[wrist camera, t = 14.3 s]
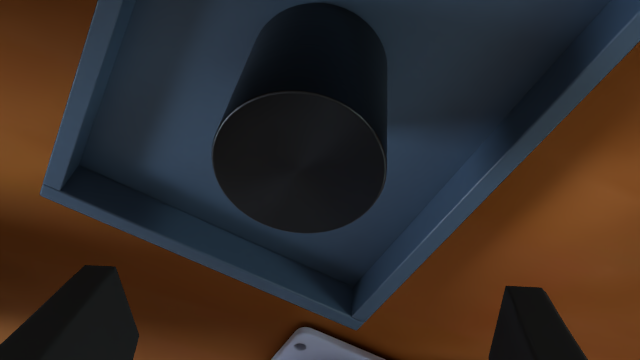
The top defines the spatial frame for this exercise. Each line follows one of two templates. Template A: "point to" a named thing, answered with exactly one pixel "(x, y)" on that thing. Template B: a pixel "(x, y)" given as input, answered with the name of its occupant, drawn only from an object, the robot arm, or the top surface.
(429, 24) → the tray
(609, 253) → the top surface
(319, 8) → the spice tin
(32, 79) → the top surface
